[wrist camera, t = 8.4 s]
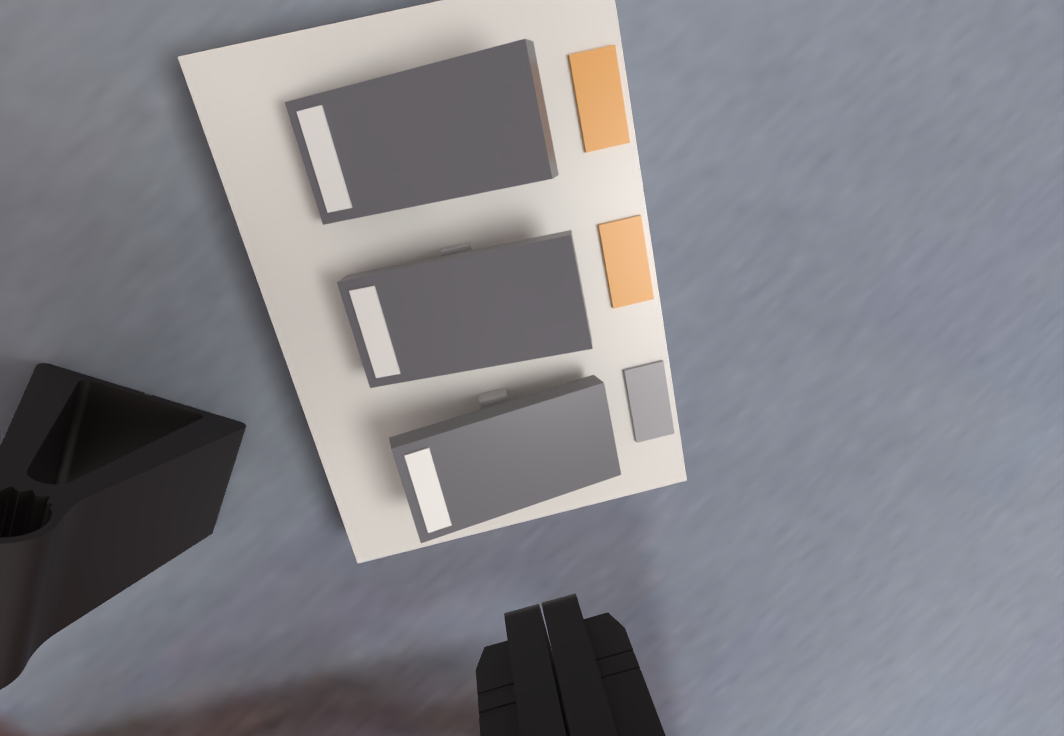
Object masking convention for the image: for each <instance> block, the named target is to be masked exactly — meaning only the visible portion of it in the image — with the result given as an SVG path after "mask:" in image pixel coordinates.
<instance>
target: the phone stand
mask: <svg viewBox="0 0 1064 736" xmlns="http://www.w3.org/2000/svg"><path fill="white" fill-rule="evenodd" d="M245 428H246V425H245V424H244V423H242V422H239V421H236V420H232V419H229V418H226V417H222V416H219V415H216V414H213V413H209V412H206V411H203V410H199V409H196V408H193V407H189V406H186V405H183V404H180V403H176V402H173V401H170V400H166V399H163V398H160V397H157V396H147V395H145V394H144V393H143V392H140V391H137V390H133V389H130V388H127V387H124V386H120V385H117V384H114V383H110V382H107V381H104V380H101V379H97V378H94V377H91V376H87V375H84V374H81V373H77V372H74V371H71V370H68V369H64V368H61V367H58V366H54V365H51V364H45V363H42V364H38V365H37V366H36V368H35V370H34V372H33V374H32V377H31V379H30V381H29V383H28V386H27V388H26V390H25V392H24V395H23V397H22V399H21V401H20V404H19V406H18V408H17V410H16V413H15V415H14V417H13V419H12V422H11V424H10V426H9V428H8V431H7V433H6V435H5V437H4V439H3V442H2V444H1V446H0V690H1V689H2V688H4V687H6V686H7V685H9V684H10V683H12V682H13V681H14V680H15V679H16V678H17V677H18V676H19V675H20V674H21V673H22V671H23V670H24V668H25V666H26V664H27V662H28V660H29V659H30V657H31V656H32V654H33V653H34V652H35V651H36V650H37V649H38V648H39V646H40V645H42V644H43V643H44V642H45V641H46V640H47V639H49V638H50V637H51V636H53V635H54V634H56V633H57V632H59V631H60V630H62V629H63V628H65V627H66V626H68V625H70V624H71V623H73V622H74V621H76V620H77V619H79V618H81V617H82V616H84V615H85V614H87V613H88V612H90V611H92V610H93V609H95V608H96V607H98V606H99V605H101V604H103V603H104V602H106V601H107V600H109V599H110V598H112V597H114V596H115V595H117V594H118V593H120V592H121V591H123V590H124V589H126V588H128V587H129V586H131V585H132V584H134V583H135V582H137V581H139V580H140V579H142V578H143V577H145V576H146V575H148V574H150V573H151V572H153V571H154V570H156V569H157V568H159V567H161V566H162V565H164V564H165V563H167V562H168V561H170V560H171V559H173V558H175V557H176V556H178V555H179V554H181V553H182V552H184V551H186V550H187V549H189V548H190V547H192V546H193V545H195V544H197V543H198V542H200V541H201V540H203V539H204V538H206V537H208V536H209V535H211V534H212V533H213V530H214V527H215V523H216V520H217V517H218V514H219V511H220V507H221V504H222V501H223V498H224V495H225V491H226V488H227V485H228V482H229V479H230V475H231V472H232V469H233V466H234V463H235V460H236V456H237V453H238V450H239V447H240V444H241V440H242V437H243V434H244V431H245Z"/></svg>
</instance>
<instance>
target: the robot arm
mask: <svg viewBox="0 0 1064 736" xmlns="http://www.w3.org/2000/svg"><path fill="white" fill-rule="evenodd" d="M542 607H543V612H544V616H545V621H546V625H547V630H548V634H549V639H550V642H549V639H548V635H547V631H546V628H545V624H544V620H543V617H542V613H541V609H540V606H539V604H536V605H533V606H529V607H525V608H522V609H518V610H515V611H511V612H507V613H505V614H504V616H505V624H506V631H507V639H508V641H505V642H501V643H497V644H494V645H490V646H487V647H485V648H484V650H483V653H482V655H481V658H480V660H479V663H478V666H477V668H476V679H477V693H478V707H479V715H480V717H479V721H480V735H481V736H665V733H664V730H663V728H662V725H661V723H660V720H659V717H658V715H657V712H656V709H655V707H654V704H653V701H652V699H651V696H650V693H649V691H648V688H647V685H646V683H645V680H644V677H643V675H642V672H641V670H640V667H639V664H638V662H637V659H636V656H635V654H634V652H633V648H632V646H631V643H630V640H629V638H628V635H627V632H626V630H625V628H624V627H623V626H622V625H621V624H620V623H619V622H618V621H617V620H616V619H614V618H613V617H612V616H611V615H610V614H609V613H604V614H601V615H597V616H594V617H590V618H586V619H583V616H582V613H581V610H580V606H579V603H578V599H577V596H576V594H572V595H568V596H565V597H561V598H557V599H554V600H550V601H547V602H543V603H542ZM550 643H551V646H550ZM551 648H552V650H551Z"/></svg>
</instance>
